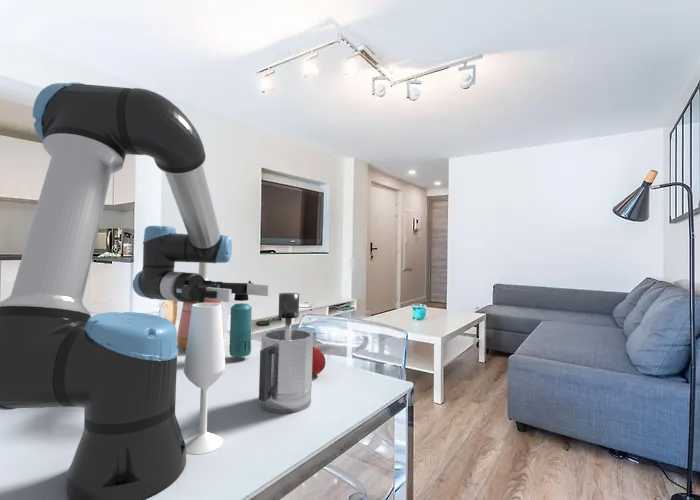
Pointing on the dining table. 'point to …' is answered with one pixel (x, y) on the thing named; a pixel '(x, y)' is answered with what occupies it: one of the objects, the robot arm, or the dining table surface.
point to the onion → (317, 361)
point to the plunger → (288, 310)
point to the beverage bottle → (240, 327)
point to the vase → (186, 311)
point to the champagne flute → (204, 367)
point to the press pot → (286, 371)
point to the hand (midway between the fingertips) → (251, 293)
